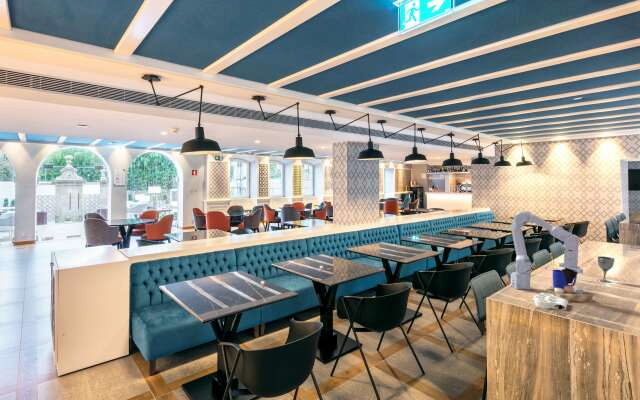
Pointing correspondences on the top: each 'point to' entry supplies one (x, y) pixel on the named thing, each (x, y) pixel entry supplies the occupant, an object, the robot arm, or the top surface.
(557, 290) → the pale grey rounded piece
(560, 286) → the mug
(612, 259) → the wine glass
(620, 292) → the top surface
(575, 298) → the wooden compartment tray
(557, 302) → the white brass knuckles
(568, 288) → the pink egg
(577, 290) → the pale blue rounded lump
